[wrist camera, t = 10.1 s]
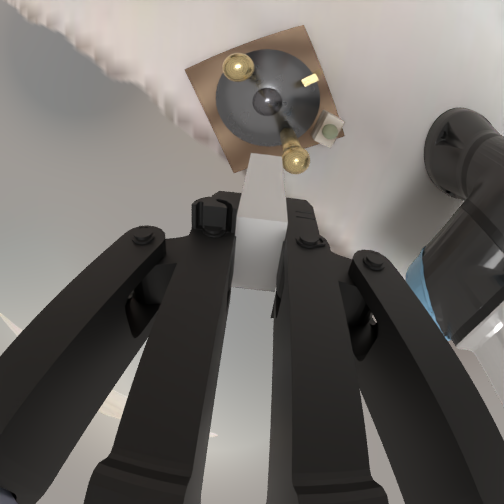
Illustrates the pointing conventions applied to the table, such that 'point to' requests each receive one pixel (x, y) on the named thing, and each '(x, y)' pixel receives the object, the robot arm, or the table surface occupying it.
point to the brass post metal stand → (269, 102)
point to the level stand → (287, 41)
